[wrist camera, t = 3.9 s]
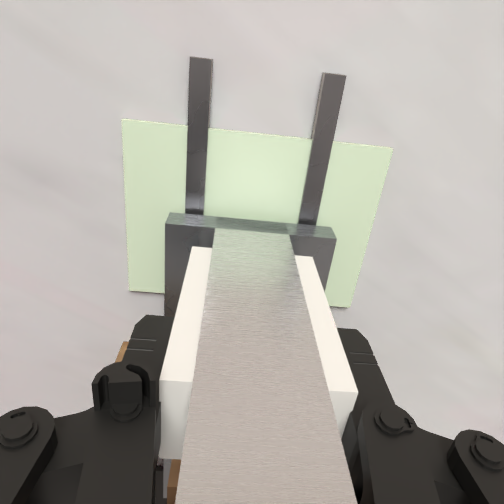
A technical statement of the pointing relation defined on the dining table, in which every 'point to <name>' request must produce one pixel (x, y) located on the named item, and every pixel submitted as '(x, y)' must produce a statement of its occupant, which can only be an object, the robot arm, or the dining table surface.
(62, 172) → the dining table surface
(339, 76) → the rails
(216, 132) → the pad
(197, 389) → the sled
